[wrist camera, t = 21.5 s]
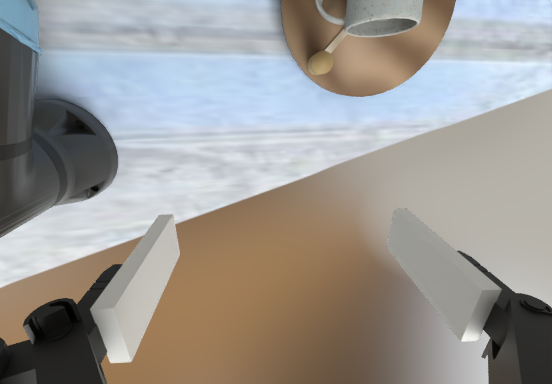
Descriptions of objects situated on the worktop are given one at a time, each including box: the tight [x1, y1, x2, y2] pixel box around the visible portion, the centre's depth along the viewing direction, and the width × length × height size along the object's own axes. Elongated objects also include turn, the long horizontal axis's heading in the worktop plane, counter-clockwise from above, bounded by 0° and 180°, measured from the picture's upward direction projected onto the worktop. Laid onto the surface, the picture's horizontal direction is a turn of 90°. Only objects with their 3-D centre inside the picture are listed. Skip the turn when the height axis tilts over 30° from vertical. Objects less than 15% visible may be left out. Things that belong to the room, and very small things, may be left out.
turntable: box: [281, 0, 456, 97], centre depth 30 cm, size 21×21×6 cm
